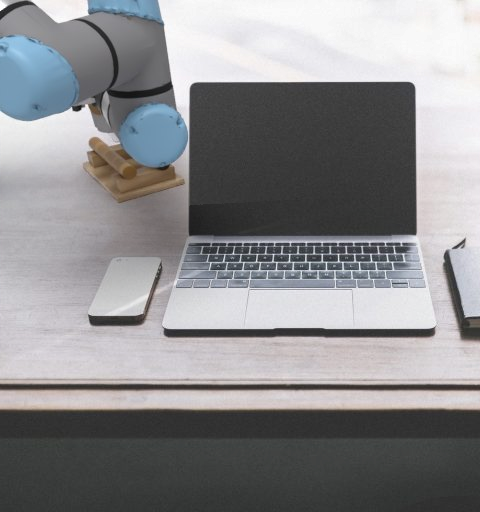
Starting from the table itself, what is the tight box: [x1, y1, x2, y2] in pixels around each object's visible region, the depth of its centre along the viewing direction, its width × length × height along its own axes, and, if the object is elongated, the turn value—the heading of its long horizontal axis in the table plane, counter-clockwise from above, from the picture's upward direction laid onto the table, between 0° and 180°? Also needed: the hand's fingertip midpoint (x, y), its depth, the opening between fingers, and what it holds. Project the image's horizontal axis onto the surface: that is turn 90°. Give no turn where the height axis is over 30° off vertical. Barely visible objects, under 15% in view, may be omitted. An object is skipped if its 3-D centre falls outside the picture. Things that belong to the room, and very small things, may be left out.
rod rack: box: [82, 136, 185, 204], centre depth 112 cm, size 19×12×6 cm, turn 35°
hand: (99, 68), depth 100 cm, fingers closed on coffee cup, 8 cm apart
